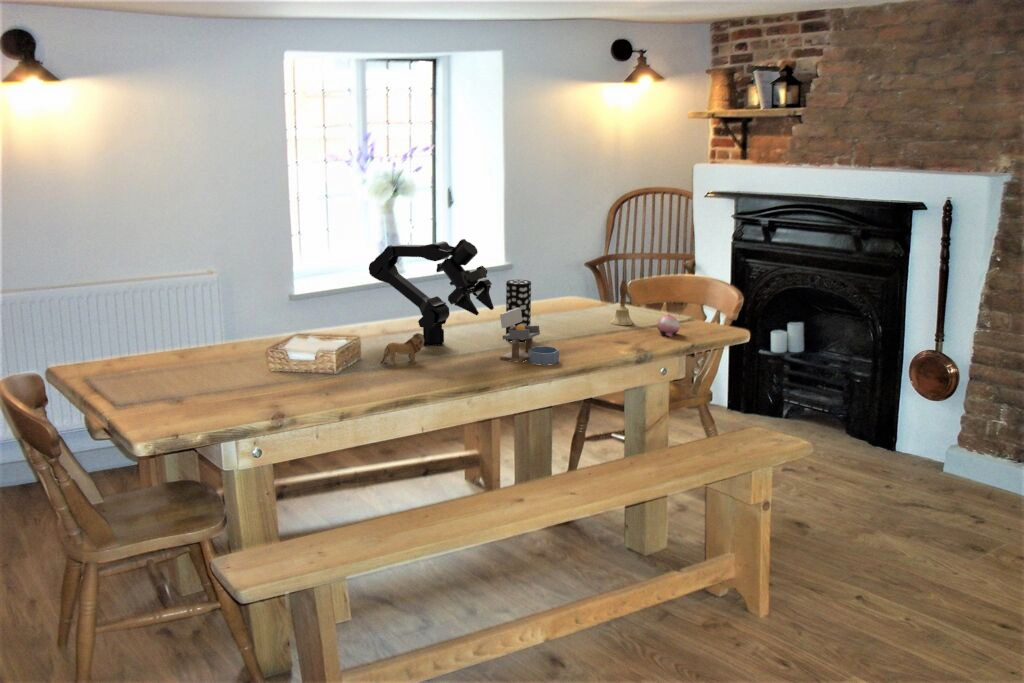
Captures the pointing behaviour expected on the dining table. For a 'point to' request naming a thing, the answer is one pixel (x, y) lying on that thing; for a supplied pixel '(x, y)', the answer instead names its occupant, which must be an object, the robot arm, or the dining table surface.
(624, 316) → the hand bell
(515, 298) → the white-spotted black cylinder
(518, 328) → the ball
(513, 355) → the stand
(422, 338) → the lion figurine
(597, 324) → the dining table surface
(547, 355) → the blue bowl
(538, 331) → the tipper
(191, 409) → the dining table surface
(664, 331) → the piggy bank
